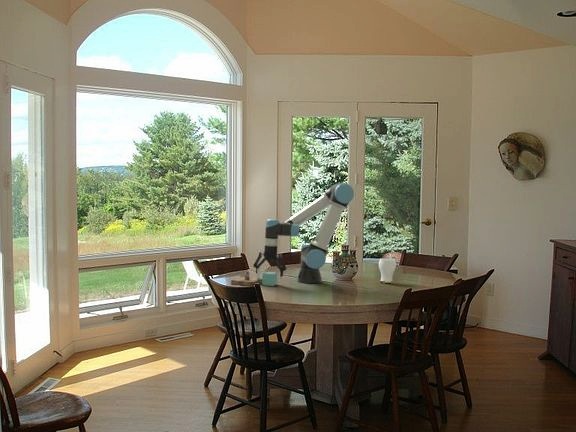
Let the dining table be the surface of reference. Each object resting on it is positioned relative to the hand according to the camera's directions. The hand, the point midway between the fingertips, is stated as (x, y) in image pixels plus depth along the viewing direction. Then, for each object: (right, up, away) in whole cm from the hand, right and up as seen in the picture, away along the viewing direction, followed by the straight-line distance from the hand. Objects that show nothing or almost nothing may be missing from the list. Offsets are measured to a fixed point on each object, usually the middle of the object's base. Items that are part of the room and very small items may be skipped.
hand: (268, 280), depth 370 cm
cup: (+73, -4, +21) cm, 76 cm away
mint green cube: (0, -2, 0) cm, 2 cm away
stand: (-13, -2, +1) cm, 13 cm away
